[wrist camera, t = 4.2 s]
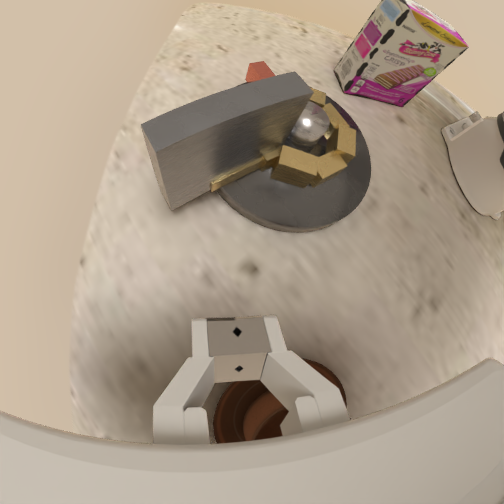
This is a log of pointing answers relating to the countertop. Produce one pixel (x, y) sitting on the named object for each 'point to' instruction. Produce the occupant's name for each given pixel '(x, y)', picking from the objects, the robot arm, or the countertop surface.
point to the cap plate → (308, 199)
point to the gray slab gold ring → (243, 139)
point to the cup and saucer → (255, 410)
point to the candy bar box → (398, 52)
